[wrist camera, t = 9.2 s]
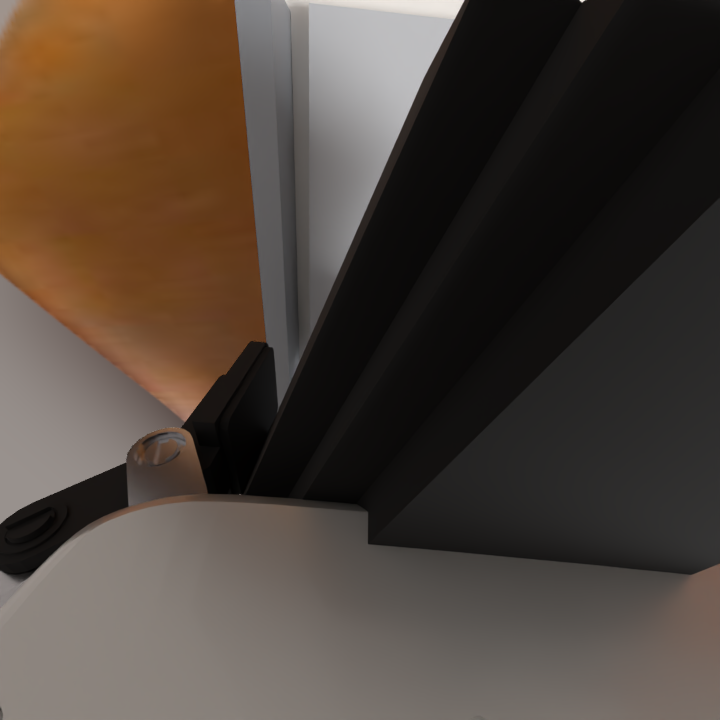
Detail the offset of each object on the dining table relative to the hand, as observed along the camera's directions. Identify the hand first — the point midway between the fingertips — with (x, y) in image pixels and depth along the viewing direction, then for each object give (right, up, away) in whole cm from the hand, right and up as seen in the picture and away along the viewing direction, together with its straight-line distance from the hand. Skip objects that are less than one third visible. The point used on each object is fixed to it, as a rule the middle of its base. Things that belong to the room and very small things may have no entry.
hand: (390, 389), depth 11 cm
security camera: (0, +1, +3) cm, 4 cm away
